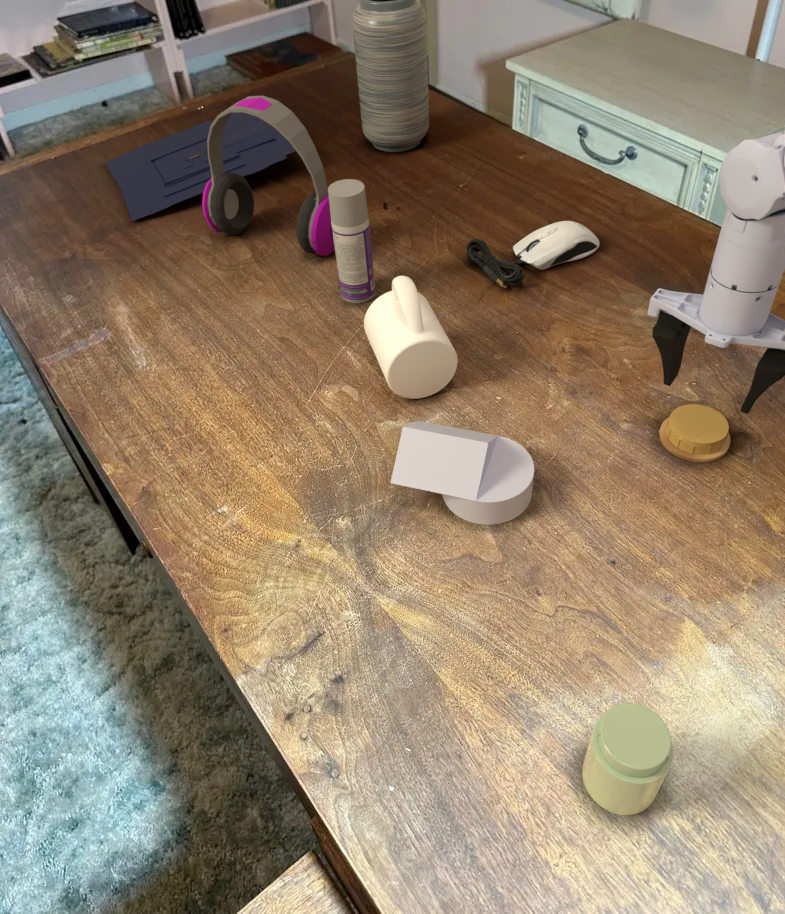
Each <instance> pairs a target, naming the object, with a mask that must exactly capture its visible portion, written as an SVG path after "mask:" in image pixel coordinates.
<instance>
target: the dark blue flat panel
mask: <svg viewBox="0 0 785 914" xmlns="http://www.w3.org/2000/svg"><path fill="white" fill-rule="evenodd" d="M214 120H215V119H212V120H207V121H204V122H202V123H199V124H196V125H194V126H191V127H189V128H186V129H183V130H180V131H178V132H175V133H173V134H170V135H168V136H165V137H163V138H160V139H157V140H154V141H152V142H148V143H147V144H144V145H141V146H138V147H137V148H135V149H133V150H130V151H128V152H126V153H123V154H121V155H120V156H117V157H115V158H111V159H109V160H107V161H105V162H104V164H105V166H106V167H107V169H108V171H109V173H110V174H111V176H112V177H113V179H114V181H115V182H116V184H117V186H118V188H119V189H120V192H121V195H122V197H123V200H124V203H125V205H126V209H127V212H128V214H129V217H130V219H131V222H134V221H136V220H139V219H142V218H145V217H147V216H149V215H154V214H156V213H158V212H161V211H163V210H165V209H167V208H170V207H172V206H174V205H176V204H178V203H181V202H182V201H186V200H188V199H191V198H193V197H196V196H198V195H200V194H203V192H204V189H205V187H206V184H207V182H208V181H209V180H210V179H211V178H212V175H211V170H210V164H209V159H208V148H207V138H208V134H209V130H210V126H211V124H212V123H213V121H214ZM295 152H297V151H296V150H295V149H294V147H293V146H292V145H291V143H290V142H289V141H288V140H287V139H286V138H285V137H284V136H283V135H282V134H281V133H280V132H279V131H278V130H277V129H275V128H274V127H273V126H271V125H270V124H268V123H267V122H265V121H264V120H262V119H260V118H259V117H256V116H253V115H250V114H247V113H244V112H234V113H232V114H231V116H230V117H229V118H228V121H227V123H226V126H225V128H224V131H223V135H222V157H223V165H224V170H225V173H226V174H229V173H234V174H238V175H241V176H242V177H243V178H244V177H245V176H247V177H248V176H250V175H253V174H255V173H257V172H260V171H262V170H264V169H267V168H269V166H271V165H274V164H277V163H280V162H282V161H284V160H286V159H288V155H290V154H292V153H295Z"/></svg>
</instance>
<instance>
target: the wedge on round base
mask: <svg viewBox="0 0 785 914" xmlns="http://www.w3.org/2000/svg"><path fill="white" fill-rule="evenodd" d="M398 442H399V443H398V447H397V451H396V455H395V461H394V464H393V469H392V473H391V478H390V482H389V484H393V485H398V486H402V487H407V488H411V489H417V490H422V491H427V492H431V493H436V494H441V495H442V499H443V501H444V503H445V505H446V507H447V508H448V509H449V511H451V512H452V513H453V514H454V515H455V516H456V517H458V518H460V519H462V520H464V521H466V522H469V523H473V524H475V525H484V526H492V525H493V526H494V525H500V524H504V523H507V522H511V521H513V520H515V519H516V518H518V517H519V516H520V515H521V514H523V513H524V512H525V511H526V509H527V508H528V507H529V505H530V503H531V500H532V498H533V497H532V496H533V486H534V477H535V464H534V460H533V458H532V456H531V454H530V453H529V451H528V450H526V448H525V447H524V446H523V445H521V444H520V443H518V442H517V441H515V440H513V439H511V438H508V437H505V436H501V435H497V434H491V433H486V432H480V431H475V430H470V429H464V428H459V427H454V426H447V425H444V424H443V425H442V424H437V423H432V422H427V421H422V420H421V421H420V420H417V421H414V422H411V423H408V424H407V425H404V426H402V429H401V434H400V438H399V441H398Z"/></svg>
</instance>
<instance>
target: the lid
mask: <svg viewBox="0 0 785 914" xmlns="http://www.w3.org/2000/svg"><path fill="white" fill-rule="evenodd" d="M668 417H669V420H668V421H667V425H666V433H667V436H668V439H669V440H670V441H671V443H672V444H674V445H675V446H676V447H677V448H679V449H681V450H683V451H685V452H688V453H692V454H710V453H713V452H715V451H717V450H719V449H721V447H722V446H723V444H724V442H725V440H726V439H727V436H728V433H729V430H730V425H729V422H728V420H727V419H726V417H725V415H723V414H722V413H721V412H719V411H718V410H717V409H715V408H713V407H711V406H707V405H703V404H699V403H698V404H697V403H690V404H683V405H680V406H677V407H675V408H674V409H673V410H672V411H671V413H670V414H669V416H668ZM729 434H730V433H729Z"/></svg>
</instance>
